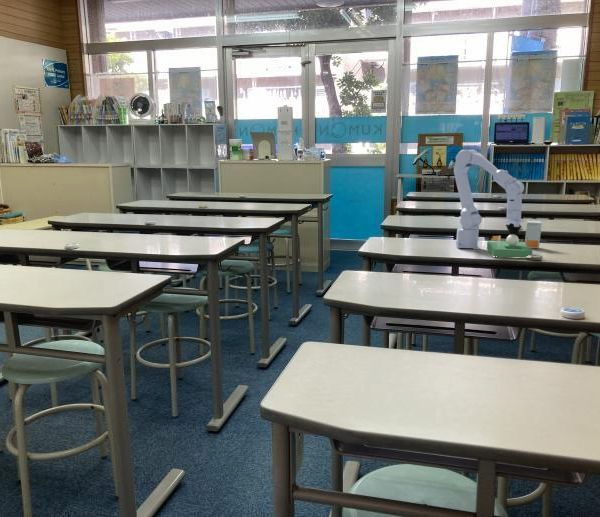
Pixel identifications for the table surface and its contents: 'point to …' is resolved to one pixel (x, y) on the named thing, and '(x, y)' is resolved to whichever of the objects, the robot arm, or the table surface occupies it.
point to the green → (507, 248)
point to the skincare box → (533, 234)
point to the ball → (512, 240)
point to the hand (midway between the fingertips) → (512, 241)
